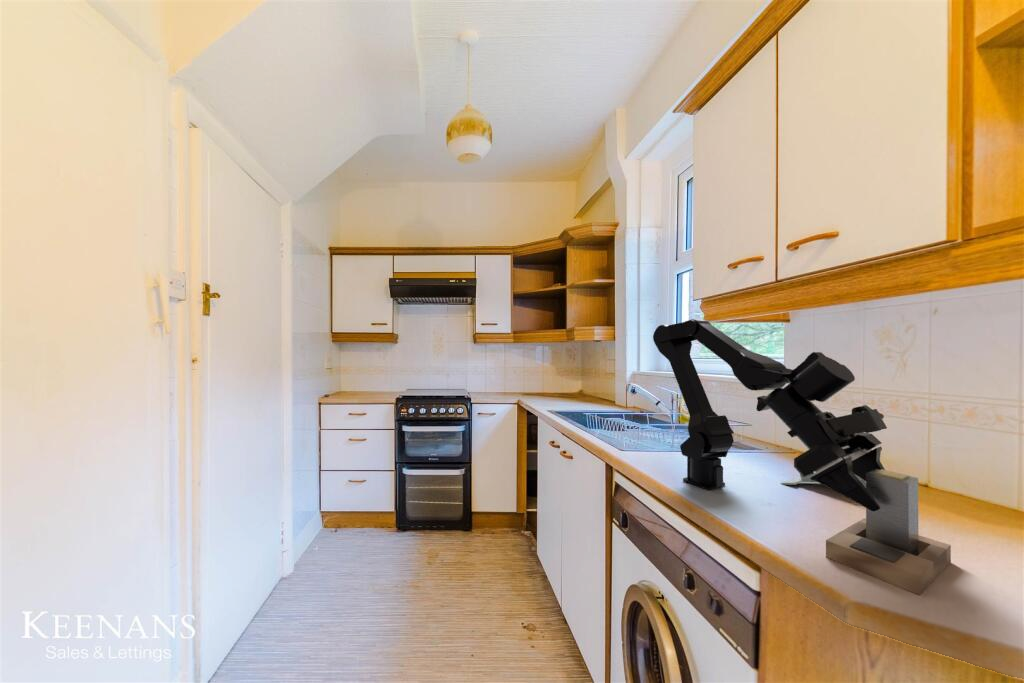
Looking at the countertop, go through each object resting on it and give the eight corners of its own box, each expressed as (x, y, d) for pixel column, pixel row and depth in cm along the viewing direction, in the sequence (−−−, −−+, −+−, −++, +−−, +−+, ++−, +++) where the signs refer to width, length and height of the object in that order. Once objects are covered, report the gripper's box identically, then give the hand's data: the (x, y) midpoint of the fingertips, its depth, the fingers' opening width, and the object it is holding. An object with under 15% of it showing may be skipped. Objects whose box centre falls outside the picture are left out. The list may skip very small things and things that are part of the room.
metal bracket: (876, 465, 81) (847, 476, 73) (887, 493, 79) (858, 507, 72) (803, 465, 93) (772, 475, 85) (811, 490, 91) (780, 501, 84)
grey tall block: (866, 552, 55) (866, 471, 56) (877, 545, 58) (876, 467, 58) (908, 568, 52) (908, 481, 52) (918, 559, 54) (918, 476, 54)
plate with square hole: (825, 557, 54) (825, 538, 54) (863, 533, 61) (863, 517, 61) (919, 595, 46) (919, 573, 46) (950, 562, 53) (950, 543, 53)
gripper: (819, 391, 55) (926, 491, 46) (865, 386, 65) (962, 468, 55) (761, 432, 62) (844, 526, 52) (811, 422, 71) (889, 500, 62)
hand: (888, 503), depth 55 cm, fingers open, 9 cm apart
